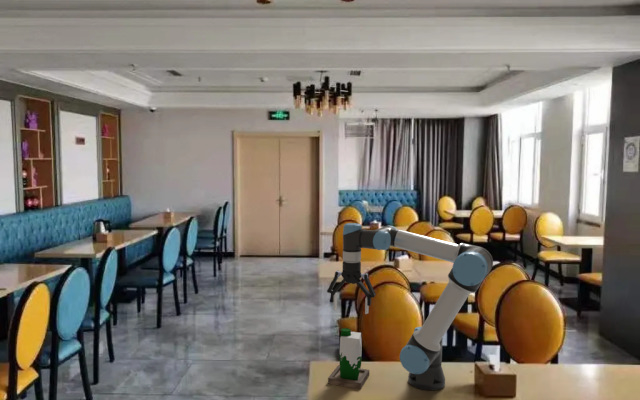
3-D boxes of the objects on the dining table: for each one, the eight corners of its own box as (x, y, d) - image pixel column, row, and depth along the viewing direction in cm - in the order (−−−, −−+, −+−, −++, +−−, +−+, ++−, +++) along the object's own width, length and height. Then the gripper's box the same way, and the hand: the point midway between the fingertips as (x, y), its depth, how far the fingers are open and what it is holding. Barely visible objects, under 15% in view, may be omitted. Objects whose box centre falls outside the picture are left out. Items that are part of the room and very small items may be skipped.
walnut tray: (369, 375, 227) (369, 369, 227) (360, 389, 214) (360, 383, 213) (338, 370, 231) (338, 365, 231) (327, 383, 218) (328, 377, 218)
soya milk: (340, 371, 227) (341, 325, 225) (361, 372, 226) (362, 327, 224) (338, 379, 219) (338, 332, 217) (359, 381, 217) (360, 334, 215)
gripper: (383, 261, 217) (382, 312, 219) (326, 256, 225) (325, 305, 227) (379, 265, 210) (378, 317, 212) (320, 260, 218) (319, 310, 220)
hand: (350, 311), depth 220 cm, fingers open, 13 cm apart
